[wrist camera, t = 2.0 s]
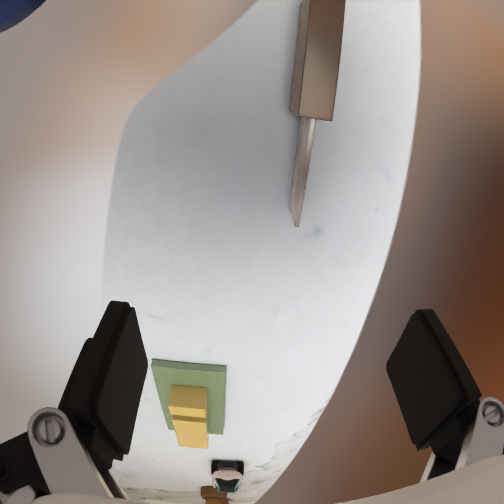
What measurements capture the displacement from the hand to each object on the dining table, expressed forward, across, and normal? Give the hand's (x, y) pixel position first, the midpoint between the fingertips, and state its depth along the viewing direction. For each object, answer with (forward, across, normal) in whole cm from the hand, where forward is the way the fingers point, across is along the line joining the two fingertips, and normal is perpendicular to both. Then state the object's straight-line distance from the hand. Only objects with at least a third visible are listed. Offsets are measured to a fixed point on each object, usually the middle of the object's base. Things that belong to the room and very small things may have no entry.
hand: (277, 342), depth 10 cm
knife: (+14, -3, -6) cm, 15 cm away
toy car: (+14, +1, +55) cm, 57 cm away
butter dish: (+14, +6, +27) cm, 31 cm away
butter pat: (+13, +6, +23) cm, 27 cm away
